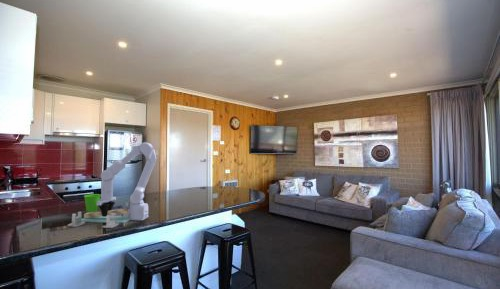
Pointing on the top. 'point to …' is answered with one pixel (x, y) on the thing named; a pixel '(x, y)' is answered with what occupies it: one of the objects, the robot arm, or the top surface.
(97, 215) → the rail
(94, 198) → the cup
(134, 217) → the robot arm
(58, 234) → the top surface
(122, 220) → the mat
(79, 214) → the hook stand
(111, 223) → the hook stand
